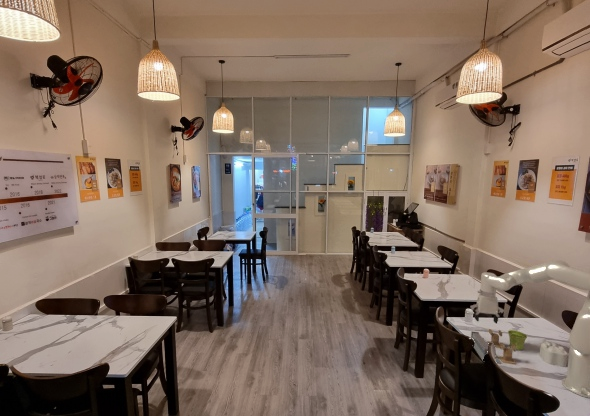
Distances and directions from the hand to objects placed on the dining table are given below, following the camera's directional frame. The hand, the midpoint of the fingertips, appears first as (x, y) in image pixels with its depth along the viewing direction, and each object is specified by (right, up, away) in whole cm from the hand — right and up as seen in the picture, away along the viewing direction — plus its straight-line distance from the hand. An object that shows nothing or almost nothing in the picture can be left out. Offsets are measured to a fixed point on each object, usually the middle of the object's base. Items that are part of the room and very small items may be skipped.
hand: (486, 321), depth 166 cm
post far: (+10, -18, +7) cm, 22 cm away
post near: (+6, -19, -8) cm, 22 cm away
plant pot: (+22, -18, +5) cm, 29 cm away
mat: (0, -18, +2) cm, 18 cm away
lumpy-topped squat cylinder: (+34, -20, -6) cm, 39 cm away
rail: (0, -17, +4) cm, 18 cm away
